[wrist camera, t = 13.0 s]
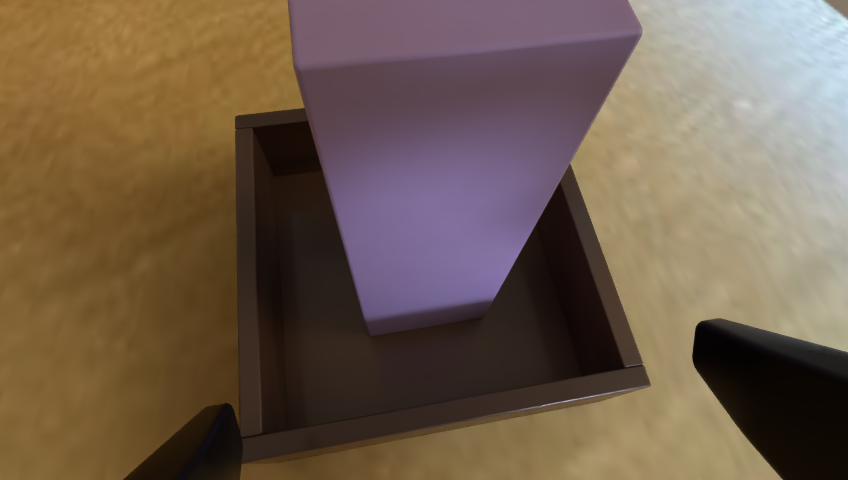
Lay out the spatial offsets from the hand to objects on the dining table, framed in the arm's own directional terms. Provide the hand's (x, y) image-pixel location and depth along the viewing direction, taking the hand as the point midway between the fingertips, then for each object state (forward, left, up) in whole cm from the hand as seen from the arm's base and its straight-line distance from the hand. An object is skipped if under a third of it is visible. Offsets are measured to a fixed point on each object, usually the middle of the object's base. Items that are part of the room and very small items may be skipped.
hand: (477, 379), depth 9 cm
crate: (+3, +4, -8) cm, 10 cm away
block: (+3, +4, -7) cm, 9 cm away
